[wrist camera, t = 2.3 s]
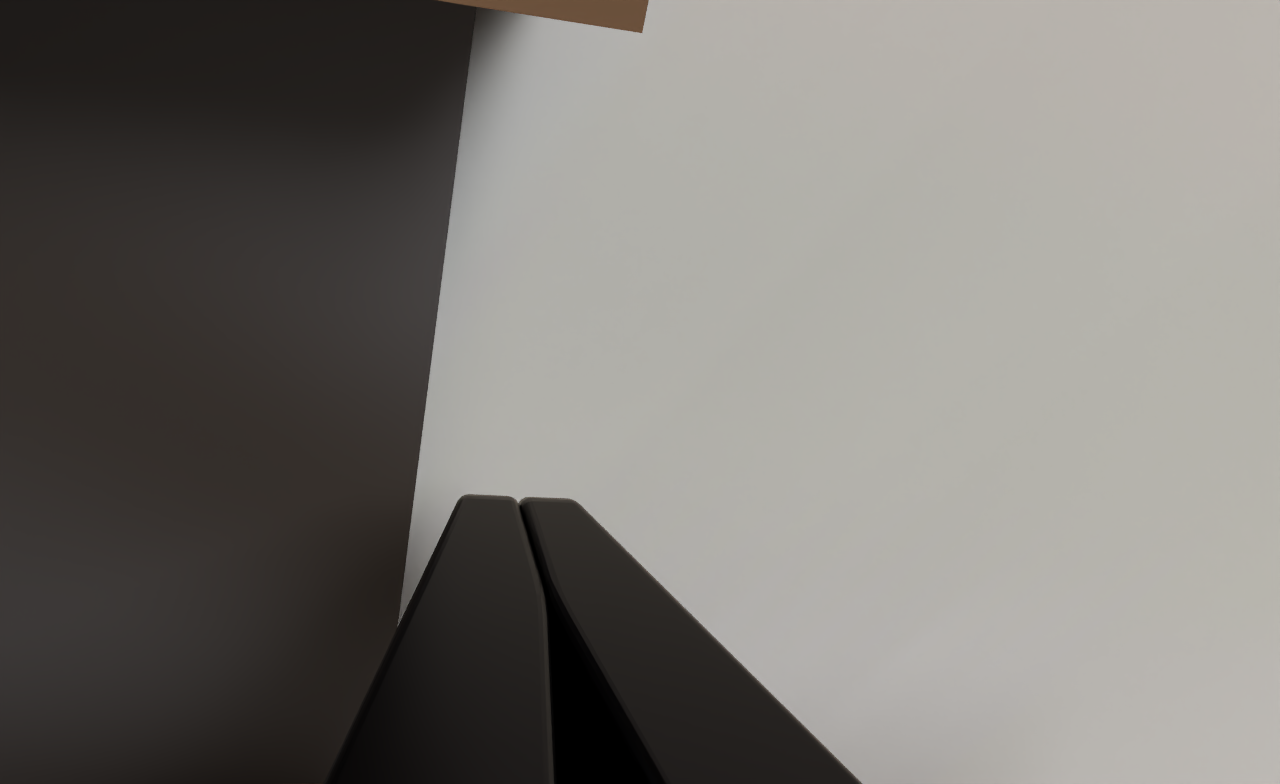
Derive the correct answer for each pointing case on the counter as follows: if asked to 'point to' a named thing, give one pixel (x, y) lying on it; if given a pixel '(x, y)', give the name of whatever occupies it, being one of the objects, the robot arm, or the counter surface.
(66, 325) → the trap channel
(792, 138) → the counter surface
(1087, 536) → the counter surface
